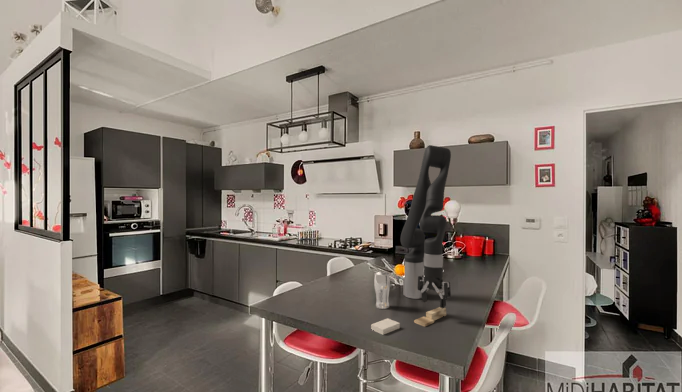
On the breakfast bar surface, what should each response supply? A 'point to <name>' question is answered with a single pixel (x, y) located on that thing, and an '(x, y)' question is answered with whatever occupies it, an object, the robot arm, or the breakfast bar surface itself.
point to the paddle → (431, 316)
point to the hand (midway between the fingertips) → (433, 304)
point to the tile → (385, 326)
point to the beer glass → (382, 289)
